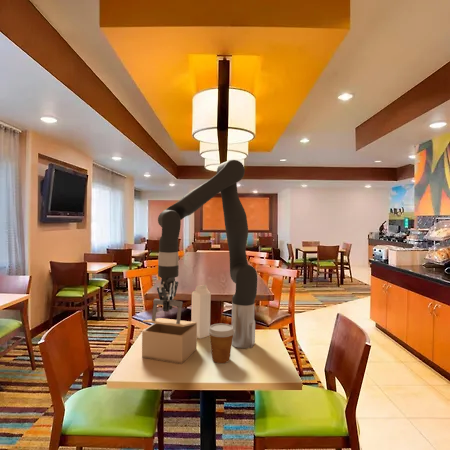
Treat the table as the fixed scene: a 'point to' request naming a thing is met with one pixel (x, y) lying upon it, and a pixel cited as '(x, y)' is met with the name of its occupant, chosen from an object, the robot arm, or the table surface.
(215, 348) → the disposable coffee cup
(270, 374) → the table surface
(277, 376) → the table surface
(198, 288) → the milk
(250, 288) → the robot arm
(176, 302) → the carton flap
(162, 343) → the carton
